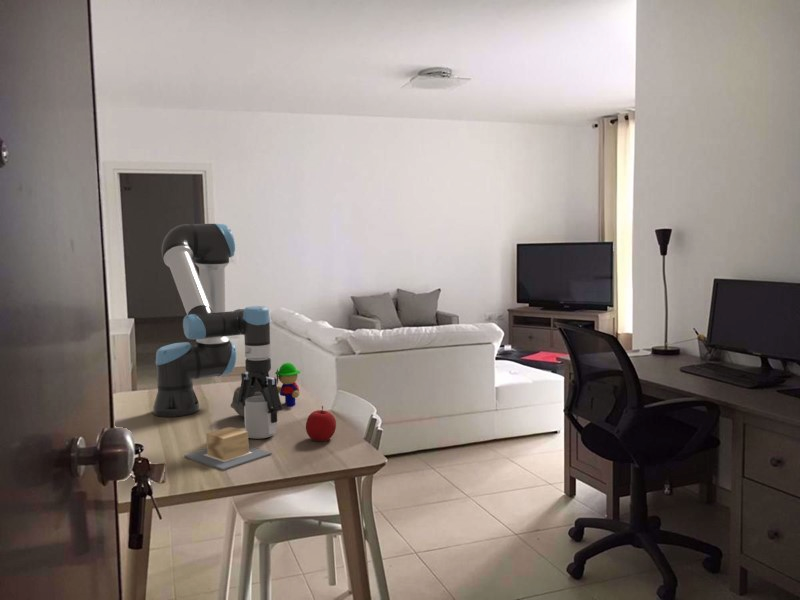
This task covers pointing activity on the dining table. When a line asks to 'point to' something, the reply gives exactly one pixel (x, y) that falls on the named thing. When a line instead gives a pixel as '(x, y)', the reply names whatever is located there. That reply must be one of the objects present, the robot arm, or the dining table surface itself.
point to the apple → (320, 425)
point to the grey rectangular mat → (230, 463)
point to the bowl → (238, 406)
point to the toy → (288, 383)
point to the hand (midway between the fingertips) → (260, 429)
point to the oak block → (227, 443)
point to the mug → (257, 417)
